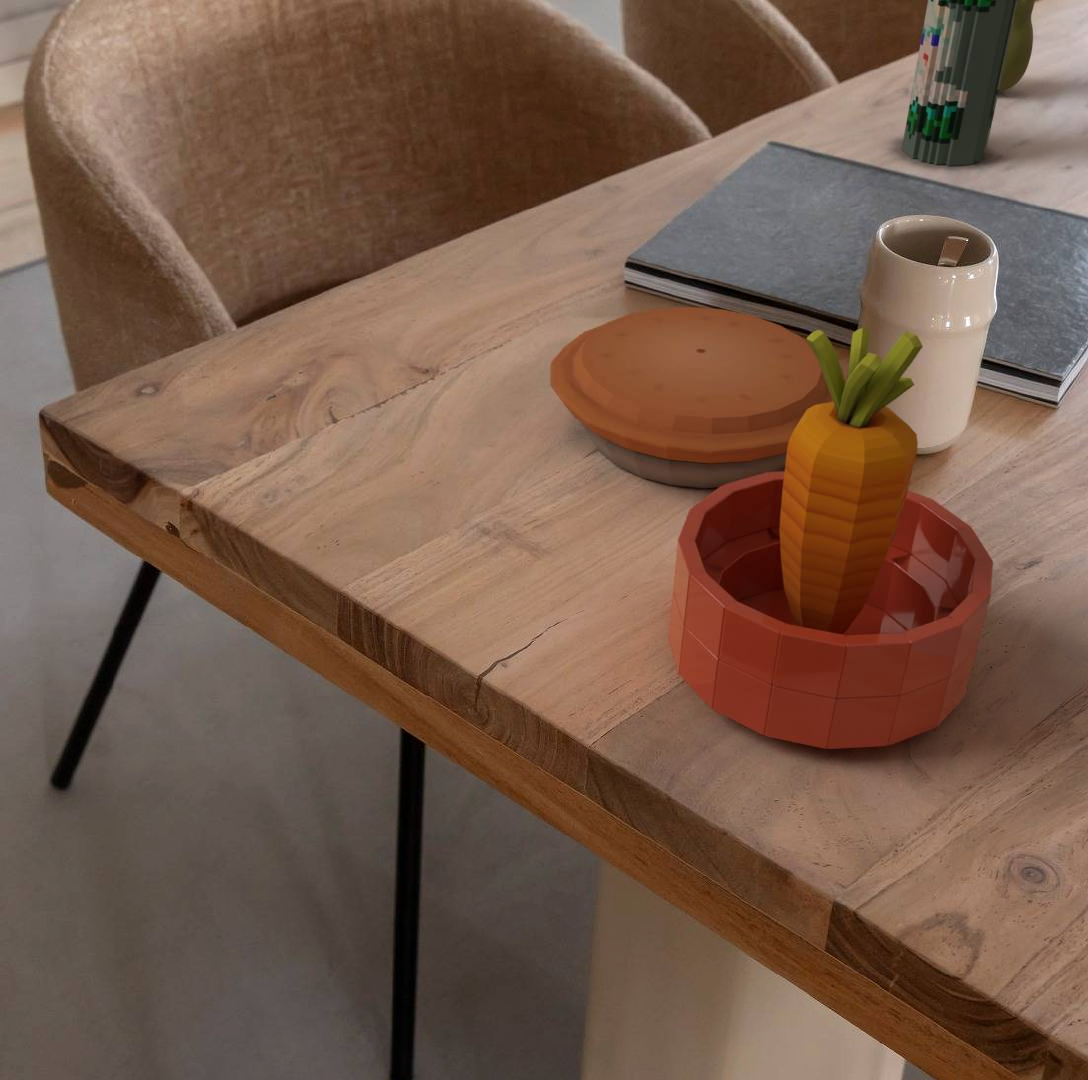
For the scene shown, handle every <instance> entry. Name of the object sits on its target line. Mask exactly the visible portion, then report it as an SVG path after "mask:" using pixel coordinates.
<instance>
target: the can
mask: <svg viewBox="0 0 1088 1080" xmlns="http://www.w3.org/2000/svg"><path fill="white" fill-rule="evenodd" d="M1017 3H1018V0H927V3H926V4H927V5H926V10H925V15H924V20H923V25H922V26H923V27H922V32H921V38H920V44H919V49H918V54H917V61H916V67H915V72H914V78H913V83H912V89H911V93H910V101H909V106H908V112H907V117H906V123H905V127H904V135H903V140H902V145H901V150H902V151H903V152H904V153H905V154H906V155H907V156H909V157H910V158H911V159H918V160H919V161H920V162H921V163H922V162H924V163H925V162H927V163H928V164H934V165H936V166H937V165H938V166H939V165H940V166H941V165H946V166H947V167H952V166H969V165H973V164H974V163H980V162H981V161H982V160H983V159H985V157H986V155H987V149H988V144H989V139H990V136H991V135H990V134H991V130H992V125H993V121H994V116H995V110H996V106H997V101H998V97H999V93H1000V92H999V88H1000V83H1001V78H1002V74H1003V69H1004V64H1005V60H1006V55H1007V50H1008V45H1009V41H1010V36H1011V31H1012V27H1013V22H1014V17H1015V12H1016V8H1017Z"/></svg>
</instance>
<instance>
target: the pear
mask: <svg viewBox="0 0 1088 1080" xmlns="http://www.w3.org/2000/svg"><path fill="white" fill-rule="evenodd" d="M1034 6H1035V0H1018V3H1017V8H1016V12H1015V17H1014V22H1013V27H1012V31H1011V36H1010V41H1009V45H1008V50H1007V55H1006V60H1005V64H1004V69H1003V74H1002V78H1001V83H1000V88H999V92H998V93H1002V92H1006V91H1008V90H1009V89H1011V88H1013V87H1014V86H1016V85H1017V84H1018V83H1019V82H1020V81H1021V79H1022V78H1023V77H1024V75H1025V73H1026V71H1027V69H1028V67H1029V64H1030V60H1031V56H1032V52H1033V44H1034V28H1033V21H1032V13H1033V10H1034Z"/></svg>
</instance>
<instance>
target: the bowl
mask: <svg viewBox="0 0 1088 1080" xmlns="http://www.w3.org/2000/svg"><path fill="white" fill-rule="evenodd" d="M784 472H785V470H780V471H778V472H766V473H763V474H759V475H756V476H752V477H749V478H745V479H742V480H738V481H735V482H731V483H728V484H724V485H723V486H721V487H717V489H715V490H714V491H712V492H711V493H710V494H708V495H707V496H705V497H704V498H702V499H701V500H700V501H698V502H697V503H696V504H694V505H693V506H692V507H690V508H689V510H688V513H687V515H686V518H685V520H684V523H683V526H682V528H681V531H680V533H679V536H678V538H677V544H676V555H675V565H674V576H673V585H672V598H671V606H670V615H669V616H670V617H669V627H668V637H667V639H668V643H669V646H670V649H671V653H672V658H673V660H674V663H675V667H676V670H677V674H678V675H679V677H680V678H681V679H682V680H683V681H684V682H685V683H686V684H687V685H688V686H689V687H690V688H691V689H692V690H693V691H694V692H695V693H696V694H697V695H698V697H699V698H701V700H702V701H703V702H704V703H705V704H707V706H708V707H709V708H710V709H712V710H713V711H714V712H717V713H718V714H720V715H723V716H725V717H726V718H729V719H731V720H733V721H735V722H736V723H738V724H740V725H742V726H745V727H746V728H748V729H750V730H752V731H753V732H756V733H758V734H760V735H762V736H765V737H768V738H772V739H778V740H782V741H787V742H792V743H796V744H802V745H806V746H810V747H815V748H820V749H828V750H836V749H850V748H851V749H855V748H856V749H857V748H875V747H887V746H891V745H894V744H897V743H899V742H902V741H904V740H907V739H910V738H912V737H916V736H917V735H921V734H923V733H925V732H927V731H930V730H932V729H935V728H938V727H939V726H940V724H941V723H942V722H943V721H944V720H945V719H946V718H947V717H948V716H949V714H951V712H952V711H953V710H954V709H955V708H956V707H957V706H958V704H960V702H962V700H963V699H964V698H965V695H966V692H967V688H968V685H969V681H970V677H971V672H972V669H973V665H974V661H975V659H976V658H975V657H976V653H977V650H978V647H979V643H980V639H981V635H982V631H983V628H984V627H983V626H984V623H985V620H986V615H987V612H988V607H989V604H990V600H991V596H992V583H993V572H994V571H993V569H994V561H993V559H992V557H991V556H990V554H989V552H988V551H987V549H986V548H985V546H984V544H983V543H982V542H981V540H980V538H979V537H978V534H976V531H974V530H975V529H973V527H972V526H970V525H969V524H968V523H966V522H965V521H964V520H962V518H960V517H958V516H957V515H956V514H954V513H952V512H951V511H950V510H949V509H948V508H946V507H944V506H943V505H942V504H940V503H939V502H937V501H936V500H935V499H934V498H930V497H927V496H925V495H924V494H923V495H922V494H920V493H917V492H915V491H912V490H910V489H908V491H907V495H906V499H905V502H904V506H903V510H902V513H901V517H900V520H899V524H898V528H897V531H896V534H895V537H894V539H893V541H892V544H891V546H890V549H889V551H888V554H887V556H886V558H885V561H884V563H883V565H882V568H881V570H880V572H879V574H878V576H877V578H876V581H875V583H874V585H873V587H872V589H871V591H870V594H869V596H868V598H867V600H866V602H865V604H864V607H863V609H862V610H861V612H860V613H859V614H858V616H857V617H856V619H855V620H854V621H853V623H852V624H851V626H850V627H849V628H848V630H847V631H846V632H845V633H844V634H843V635H842V634H837V633H832V632H827V631H821V630H816V629H811V628H806V627H801V626H797V625H796V623H795V620H794V618H793V616H792V614H791V610H790V607H789V603H788V600H787V597H786V593H785V590H784V583H783V573H782V563H781V548H780V529H779V528H780V515H781V503H782V490H783V481H784Z"/></svg>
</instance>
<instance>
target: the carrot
mask: <svg viewBox="0 0 1088 1080" xmlns="http://www.w3.org/2000/svg"><path fill="white" fill-rule="evenodd" d="M805 339H806V340H807V341H808V343H809V345H810V347H811V348H812V350H813V352H814V354H815V356H816V357H817V360H818V362H819V365H820V368H821V370H822V373H823V375H824V378H825V380H826V383H827V386H828V388H829V391H830V394H831V396H832V399H833V402H828V403H823V404H817V405H814V406H812V407H811V408H809V409H807V410H806V412H805V413H804V415H803V417H802V418H801V420H800V421H799V423H798V424H797V426H796V428H795V429H794V431H793V433H792V435H791V437H790V440H789V443H788V447H787V455H786V464H785V467H784V471H785V472H784V481H783V490H782V503H781V515H780V528H779V529H780V548H781V563H782V573H783V583H784V590H785V593H786V597H787V600H788V603H789V607H790V610H791V614H792V616H793V618H794V620H795V623H796V625H797V626H801V627H806V628H811V629H816V630H821V631H827V632H832V633H837V634H842V635H843V634H844V633H845V632H846V631H847V630H848V628H849V627H850V626H851V624H852V623H853V621H854V620H855V619H856V617H857V616H858V614H859V613H860V612H861V610H862V609H863V607H864V604H865V602H866V600H867V598H868V596H869V594H870V591H871V589H872V587H873V585H874V583H875V581H876V578H877V576H878V574H879V572H880V570H881V568H882V565H883V563H884V561H885V558H886V556H887V554H888V551H889V549H890V546H891V544H892V541H893V539H894V537H895V534H896V531H897V528H898V524H899V520H900V517H901V513H902V510H903V506H904V502H905V499H906V495H907V491H908V490H909V487H910V482H911V479H912V474H913V470H914V466H915V463H916V462H915V461H916V457H917V454H918V444H919V443H918V435H917V434H918V433H916V431H914V430H913V428H912V427H911V426H910V425H909V424H908V423H907V422H905V421H904V420H903V419H902V418H901V417H900V416H899V415H897V414H896V413H895V412H894V411H893V410H892V409H890V408H889V407H888V405H889V404H891V403H893V401H895V400H896V399H898V398H899V397H900V396H901V395H903V394H904V393H906V392H907V391H908V390H910V389H911V388H912V387H914V386H915V383H914V382H913V380H912V378H909V377H903V375H904V374H905V372H906V371H907V370H908V368H909V367H910V366H911V365H912V363H913V362H914V360H915V359H916V358H917V356H918V354H919V353H920V351H921V350H922V349H923V347H924V346H923V344H922V342H921V340H920V338H919V336H918V335H917V334H915V333H912V332H910V331H905V332H903V333H901V335H900V337H899V338H897V340H896V342H895V343H894V345H892V347H891V348H890V350H889V351H888V352H887V354H886V356H885V357H884V359H882V358H881V357H880V356H879V355H878V354H876V353H872V352H868V349H869V339H870V330H869V329H868V328H866V327H865V328H864V327H861V328H858V329H856V330H855V331H853V332H852V336H851V341H850V342H851V344H850V353H849V362H848V371H847V380H846V384H844V380H843V376H842V372H841V368H842V367H841V365H840V361H839V356H838V354H837V352H836V349H835V348H834V346H833V343H832V342H831V340H830V339H829V338H828V336H827V335H826V333H824V331H822V330H821V329H816V330H814V331H813V332H811V333H810V334H809V335H808V336H806V338H805ZM840 367H841V368H840Z"/></svg>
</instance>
